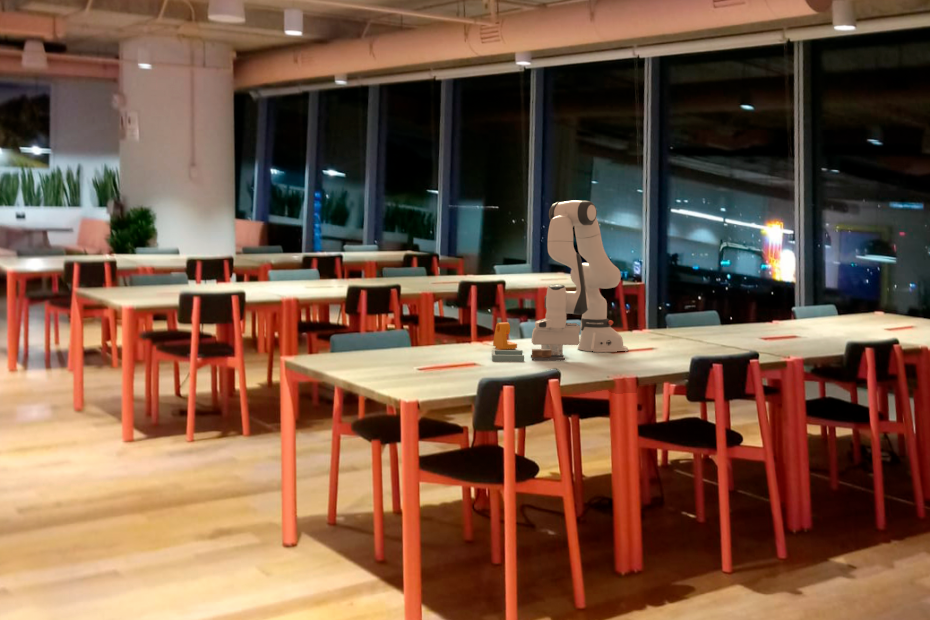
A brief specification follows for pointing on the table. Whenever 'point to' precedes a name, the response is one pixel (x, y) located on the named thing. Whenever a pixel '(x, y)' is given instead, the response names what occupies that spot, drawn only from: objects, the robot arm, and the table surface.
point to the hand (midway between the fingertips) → (555, 355)
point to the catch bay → (507, 355)
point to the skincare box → (555, 348)
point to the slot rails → (549, 358)
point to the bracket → (503, 337)
